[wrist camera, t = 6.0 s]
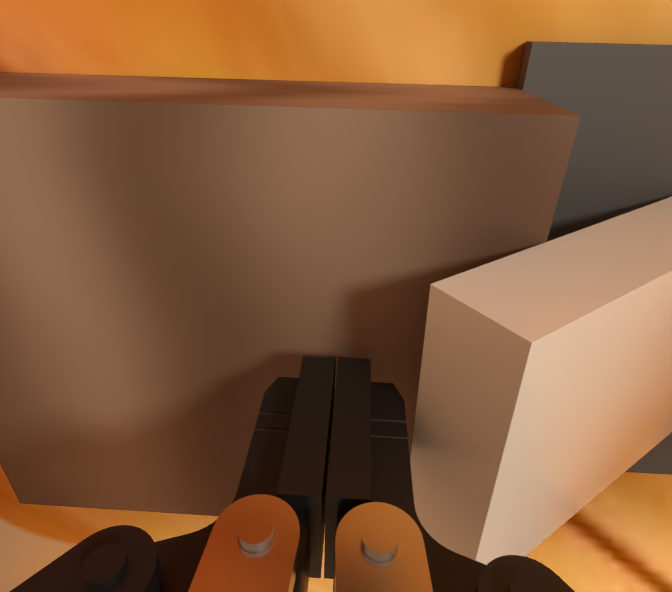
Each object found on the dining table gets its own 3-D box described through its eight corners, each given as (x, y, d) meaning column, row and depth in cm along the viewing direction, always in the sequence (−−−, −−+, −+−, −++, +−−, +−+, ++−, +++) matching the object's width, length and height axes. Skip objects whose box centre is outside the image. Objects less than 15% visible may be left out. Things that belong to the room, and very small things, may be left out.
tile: (686, 191, 12) (781, 213, 11) (607, 394, 16) (671, 432, 14) (430, 284, 8) (532, 342, 6) (401, 535, 11) (463, 609, 10)
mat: (969, 52, 11) (995, 53, 10) (708, 466, 18) (717, 477, 17) (526, 41, 11) (532, 42, 11) (444, 450, 18) (446, 461, 18)
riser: (517, 87, 12) (581, 115, 8) (447, 432, 18) (467, 532, 14) (-32, 71, 12) (-190, 92, 9) (85, 411, 18) (20, 503, 15)
